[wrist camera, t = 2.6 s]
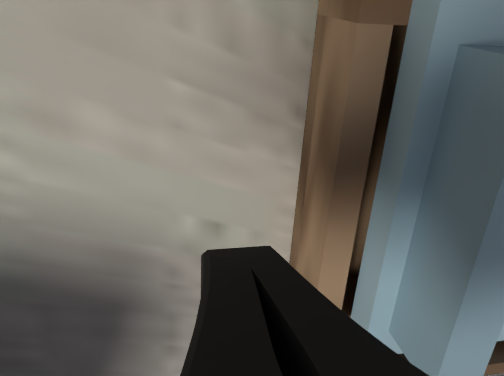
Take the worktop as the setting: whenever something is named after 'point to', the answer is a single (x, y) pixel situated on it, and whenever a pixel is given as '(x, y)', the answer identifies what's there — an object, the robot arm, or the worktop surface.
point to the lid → (441, 195)
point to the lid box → (348, 143)
